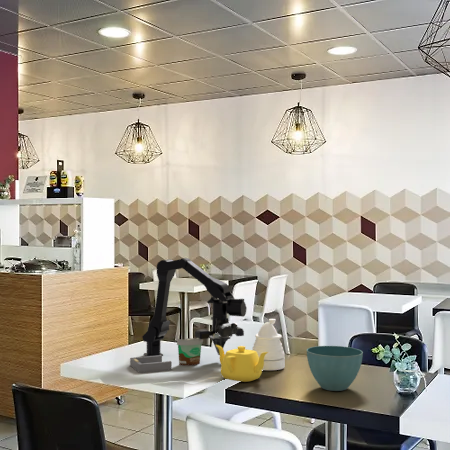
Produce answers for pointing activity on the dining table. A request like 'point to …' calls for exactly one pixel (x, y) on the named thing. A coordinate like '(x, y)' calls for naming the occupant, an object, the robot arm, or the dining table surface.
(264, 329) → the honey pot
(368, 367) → the dining table surface
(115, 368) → the dining table surface
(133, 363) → the pocket bay
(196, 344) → the food container
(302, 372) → the dining table surface
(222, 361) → the teapot
